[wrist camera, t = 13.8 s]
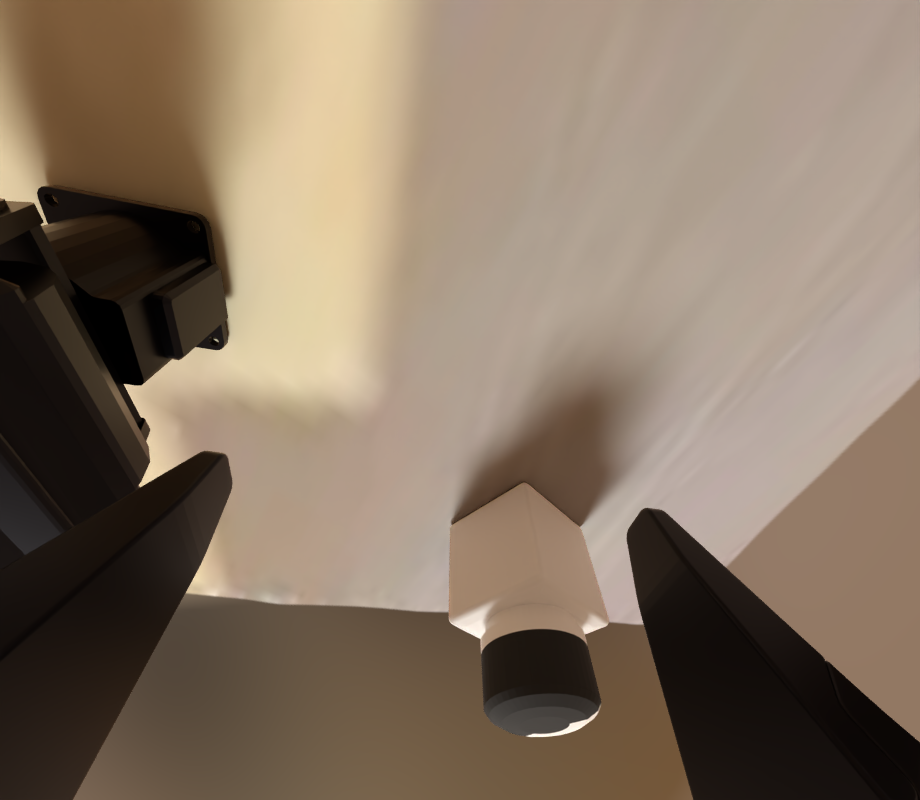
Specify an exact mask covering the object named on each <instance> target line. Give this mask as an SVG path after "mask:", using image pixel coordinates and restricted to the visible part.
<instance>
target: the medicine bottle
mask: <svg viewBox="0 0 920 800" xmlns="http://www.w3.org/2000/svg"><path fill="white" fill-rule="evenodd" d="M449 621H450V623H451V624H453V625H454V626H456V627H459V628H460V629H462V630H464V631H466V632H468V633H470V634H472V635H474V636H476V637H478V638H480V639H481V661H482V681H483V702H484V712H485V714H486V715H487V717H488V718H489V720H490V721H491V722H492V723H493V724H494V725H496V726H498V727H500V728H502V729H504V730H506V731H508V732H510V733H512V734H516V735H521V736H529V737H547V736H556V735H561V734H566V733H569V732H573V731H575V730H578V729H580V728H581V727H583V726H584V725H586V724H587V723H588V722H590V721H591V720H592V719H594V718H595V717H596V715H597V714H598V711H599V709H600V706H601V698H600V694H599V691H598V687H597V682H596V678H595V675H594V670H593V666H592V662H591V658H590V655H589V650H588V646H587V642H586V638H585V634H587V633H589V632H592V631H595V630H597V629H599V628H602V627H605V626H607V624H608V623H609V618H608V615H607V611H606V608H605V605H604V602H603V598H602V595H601V592H600V588H599V585H598V582H597V579H596V575H595V572H594V569H593V565H592V562H591V559H590V556H589V552H588V549H587V546H586V542H585V539H584V536H583V533H582V530H581V528H580V527H579V526H578V525H577V524H575V523H574V522H573V521H572V520H571V519H569V518H568V517H567V516H566V515H565V514H563V513H562V512H561V511H560V510H559V509H557V508H556V507H555V506H554V505H553V504H551V503H550V502H549V501H548V500H547V499H545V498H544V497H543V496H542V495H541V494H539V493H538V492H537V491H536V490H535V489H533V488H532V487H531V486H530V485H529V484H527V483H521V484H519V485H518V486H516V487H514V488H513V489H511V490H509V491H508V492H506V493H504V494H503V495H501V496H499V497H498V498H496V499H494V500H493V501H491V502H489V503H488V504H486V505H484V506H483V507H481V508H479V509H478V510H476V511H474V512H473V513H471V514H469V515H468V516H466V517H464V518H463V519H461V520H459V521H458V522H456V523H455V524H453V525H452V526H451V527H450V571H449Z"/></svg>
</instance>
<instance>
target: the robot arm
mask: <svg viewBox="0 0 920 800" xmlns="http://www.w3.org/2000/svg"><path fill="white" fill-rule="evenodd" d="M37 194H38V199H39V201H40V204H41V207H42V210H43V212H44V215H45V218H46V220H47V223H48V225H44V226H41V225H40V224H42V223H43V220H42V218H41V216H40V214H39V212H38V210H37V208H36V206H35V204H34V203H31V202H14V201H5V199H1V198H0V800H73V799H74V797H75V795H76V793H77V791H78V789H79V788H80V786H81V784H82V782H83V780H84V778H85V777H86V775H87V773H88V771H89V769H90V767H91V765H92V764H93V762H94V760H95V758H96V756H97V754H98V753H99V751H100V749H101V747H102V745H103V743H104V742H105V740H106V738H107V736H108V734H109V732H110V731H111V729H112V727H113V725H114V723H115V721H116V720H117V718H118V716H119V714H120V712H121V710H122V708H123V707H124V705H125V703H126V701H127V699H128V698H129V696H130V694H131V692H132V690H133V688H134V687H135V685H136V683H137V681H138V679H139V677H140V676H141V674H142V672H143V670H144V668H145V666H146V664H147V663H148V661H149V659H150V657H151V655H152V653H153V652H154V650H155V648H156V646H157V644H158V642H159V640H160V639H161V637H162V635H163V633H164V631H165V629H166V628H167V626H168V624H169V622H170V620H171V619H172V617H173V615H174V613H175V611H176V609H177V607H178V606H179V604H180V602H181V600H182V598H183V597H184V595H185V593H186V591H187V589H188V587H189V585H190V584H191V582H192V580H193V578H194V576H195V574H196V573H197V571H198V569H199V567H200V565H201V563H202V560H203V558H204V556H205V554H206V551H207V549H208V546H209V544H210V542H211V539H212V537H213V534H214V532H215V529H216V527H217V524H218V522H219V520H220V517H221V515H222V512H223V510H224V507H225V505H226V502H227V500H228V498H229V495H230V493H231V489H232V476H231V471H230V466H229V461H228V457H227V455H226V454H224V453H219V452H212V451H203V452H200V453H198V454H197V455H195V456H193V457H192V458H190V459H188V460H186V461H185V462H183V463H181V464H180V465H178V466H176V467H174V468H173V469H171V470H169V471H168V472H166V473H164V474H163V475H161V476H159V477H157V478H156V479H154V480H152V481H151V482H149V483H147V484H145V485H144V486H142V487H139V484H140V482H141V481H142V478H143V476H144V474H145V472H146V470H147V467H148V465H149V463H150V456H149V447H148V444H147V443H146V440H147V437H148V435H149V432H150V428H149V426H148V424H147V422H146V420H145V419H144V418H141V417H140V415H139V413H138V411H137V409H136V407H135V405H134V404H133V402H132V400H131V398H130V396H129V394H128V392H127V390H126V388H125V386H124V384H130V385H142V384H143V383H145V382H146V381H147V380H148V379H149V378H150V377H152V376H153V375H154V374H155V373H156V372H158V371H159V370H160V369H161V368H162V367H163V366H165V365H166V364H167V363H168V362H169V361H170V360H172V359H175V360H180V359H182V358H183V357H184V356H186V355H187V354H188V353H189V352H190V351H191V350H192V349H193V348H195V347H200V348H206V349H212V350H220V349H222V348H223V347H224V346H225V345H226V344H227V343H228V337H227V331H226V324H225V320H226V319H227V318H228V315H227V308H226V302H225V295H224V288H223V282H222V275H221V270H220V269H219V267H218V266H217V265H216V259H215V253H214V246H213V240H212V234H211V227H210V224H209V222H208V221H207V219H206V218H205V217H204V216H202V215H201V214H198V213H195V212H190V211H185V210H179V209H174V208H169V207H164V206H159V205H154V204H148V203H143V202H138V201H133V200H128V199H123V198H118V197H112V196H107V195H102V194H97V193H92V192H87V191H81V190H76V189H71V188H66V187H61V186H56V185H49V186H43V187H41V188H39V189H38V192H37ZM52 195H54V196H55V197H56V198H57V200H58V202H59V204H58V203H57V202H55V201H54V199H53V196H52ZM192 221H194V222H196V223H197V224H198V225H199V227H200V231H198V230H196V229H195V228H194V227H193V225H192ZM213 337H215V338H217V339H218V341H219V342H216V341H215V340H214V339H213ZM627 544H628V550H629V555H630V561H631V567H632V572H633V578H634V583H635V589H636V595H637V599H638V604H639V608H640V612H641V616H642V620H643V623H644V627H645V630H646V634H647V638H648V641H649V645H650V648H651V652H652V655H653V659H654V662H655V666H656V669H657V673H658V676H659V680H660V684H661V687H662V690H663V694H664V698H665V701H666V705H667V708H668V712H669V715H670V719H671V723H672V726H673V730H674V733H675V737H676V740H677V744H678V747H679V751H680V754H681V758H682V762H683V765H684V768H685V772H686V776H687V779H688V783H689V786H690V790H691V793H692V797H693V800H920V742H919V741H918V740H916V739H915V738H914V737H913V736H912V735H910V734H909V733H908V732H907V731H906V730H905V729H903V728H902V727H901V726H900V725H899V724H898V723H896V722H895V721H894V720H893V719H892V718H891V717H889V716H888V715H887V714H886V713H885V712H884V711H882V710H881V709H880V708H879V707H878V706H877V705H876V704H875V703H874V702H872V701H871V700H870V699H869V698H868V697H867V696H866V695H864V694H863V693H862V692H861V691H860V690H859V689H858V688H857V687H856V686H855V685H853V684H852V683H851V682H850V681H849V680H848V679H847V678H846V677H845V676H844V675H842V674H841V673H840V672H839V671H838V670H837V669H836V668H835V667H833V665H832V664H830V663H829V662H828V661H825V659H824V658H823V656H822V655H821V654H819V653H818V652H817V651H816V650H815V649H814V648H813V647H812V646H811V645H810V644H808V643H807V642H806V641H805V640H804V639H803V638H802V637H801V636H800V635H799V634H798V633H796V632H795V631H794V630H793V629H792V628H791V627H790V626H789V625H788V624H787V623H786V622H785V621H783V620H782V619H781V618H780V617H779V616H778V615H777V614H776V613H775V612H773V610H771V609H770V608H769V607H768V606H767V605H766V604H765V603H764V602H763V601H762V600H761V599H759V598H758V597H757V596H756V595H755V594H754V593H753V592H752V591H751V590H750V589H748V588H747V587H746V586H745V585H744V584H743V583H742V582H741V581H740V580H739V579H738V578H737V577H735V576H734V575H733V574H732V573H731V572H730V571H729V570H728V569H727V568H726V567H725V566H723V565H722V564H721V563H720V562H719V561H718V560H717V559H716V558H715V557H714V556H713V555H711V554H710V553H709V552H708V551H707V550H706V549H705V548H704V547H703V546H702V545H701V544H699V543H698V542H697V541H696V540H695V539H694V538H693V537H692V536H691V535H690V534H689V533H687V532H686V531H685V530H684V529H683V528H682V527H681V526H680V525H679V524H678V523H677V522H675V521H674V520H673V519H672V518H671V517H670V516H669V515H668V514H667V513H666V512H664V511H663V510H659V509H652V508H644V509H642V510H641V511H640V513H639V514H638V516H637V517H636V519H635V520H634V521H633V523H632V524H631V526H630V527H629V529H628V532H627Z"/></svg>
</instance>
